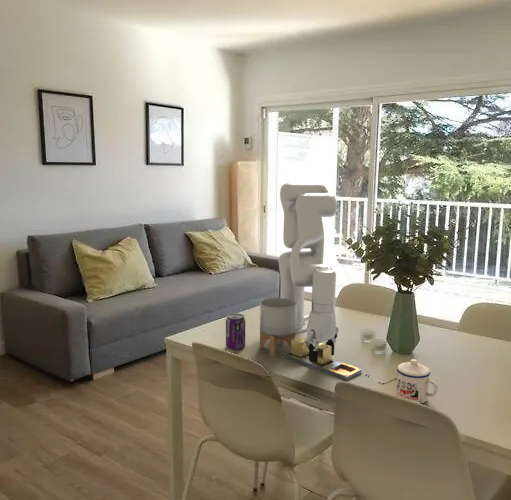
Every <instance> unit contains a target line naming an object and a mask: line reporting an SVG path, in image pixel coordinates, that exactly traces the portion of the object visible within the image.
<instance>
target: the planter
mask: <svg viewBox="0 0 511 500" xmlns="http://www.w3.org/2000/svg"><path fill="white" fill-rule="evenodd" d="M296 313H297V303H296V301H294V300H291V299H287V298H280V297H268V298H264V299H262V300H260V301H259V348H260V349H264V348H265V345H266V343H267V341H268V340H269V356H270V357H275V356H276V349H277V345H278V341H279V345H280V346H284V345H285V343H287V345H288V346H289V349H290V350H291V340H292V339H294V338H297V333H296Z"/></svg>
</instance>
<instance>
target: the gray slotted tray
mask: <svg viewBox="0 0 511 500" xmlns="http://www.w3.org/2000/svg"><path fill="white" fill-rule="evenodd" d="M283 358H284V359H287V360H290V361H293V362H295V363H298V364H301V365H304V366H307V367H308V368H312V369H315V370H317V371H320V372H322V373H325V374H328V375H331V376H333V377H336V378H338V379H342V380H344V381H349V380H351V379H353V378H355V377H357V376H359V375H360V374H362V369H361V368H359V367H356V366H354V365H351V364H348V363H345V362H341V361H338V360H334V359H332V358H331V363H330V364H328V365H325V366H320V365H317V364H315V363H312V361H310V360H309V356H307V357H305V358H302V359H301V358H298V357H295V356H292V355H291V350H290V351H288V352H286V353H284V354H283Z"/></svg>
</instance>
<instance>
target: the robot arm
mask: <svg viewBox="0 0 511 500" xmlns="http://www.w3.org/2000/svg"><path fill="white" fill-rule="evenodd" d="M279 191H280V192H279V197H280V203H281V207H282V210H283V232H282V233H283V236H282V237H283V238H282V239H283V244H284V245H283V246H285V248H288V249H291V251H290V250H289V251H285V252H283V253H282V254H281V255H279V257H278V269H279V278H280V287H279V288H280V297H279V298H287V299H291V300H294V301H296V303H297V313H296V334H299V333H304V332H305V331H306V337H305V338H306V339H305V343H306V346H307V347H308V349H309V360H310V361H312V362H315V363H316V362H317V361H318V351H317V347H318V345H319V343H325V344H326V345H329V346H332V347H331V356H334V355H335V344H336V343H337V341H336V339H337V337H338V334H339V330H340V329H339V327H338V326H337V320H336V311H335V310H336V287H337V284H336V283H337V273H336V271H335V270H334V269H333V268H332V266H331V265H329V264H328V263H327V264H325V263H324V253H325V252H324V248H325V232H324V223H323V218H329V217H330V218H331V217H334V216H335V215H336V212H337V209H338V204H337V199H336V197H335V194H334V193H333V192H332V190H331V189H330V188H329V186H328V185H327V184H326V183H323V182H320V181H319V182H313V181H311V182H310V181H309V182H307V181H305V182H304V181H294V182H293V181H292V182H287V183H284V184H282V185H281V188H280V190H279ZM302 249H303V250H304V249H310V250H305V251H303V250H302ZM301 250H302V251H301ZM309 287H310V288H311V311H310V313H309V315H308V314H307V315H304V314H305V311H304V310H305V288H309ZM306 321H307V324H306V323H305V322H306ZM314 345H315V346H314Z"/></svg>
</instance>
